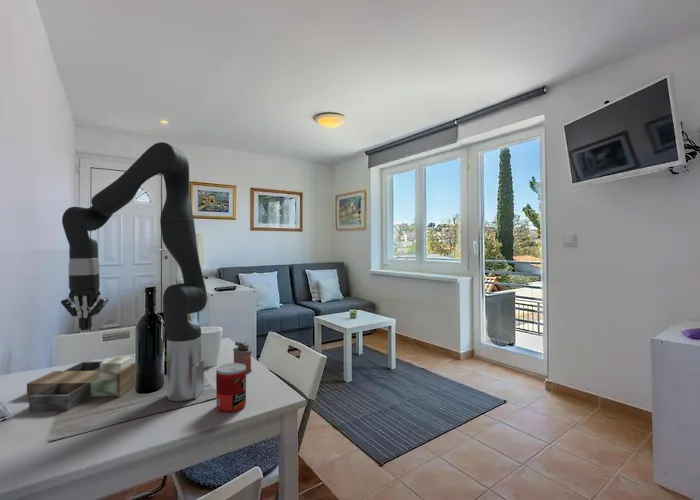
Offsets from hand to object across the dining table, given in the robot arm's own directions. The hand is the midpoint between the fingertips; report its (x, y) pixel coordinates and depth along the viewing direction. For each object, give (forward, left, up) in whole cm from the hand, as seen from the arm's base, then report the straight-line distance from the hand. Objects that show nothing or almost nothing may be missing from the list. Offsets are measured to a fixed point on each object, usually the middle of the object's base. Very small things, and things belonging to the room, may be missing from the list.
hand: (85, 329), depth 109 cm
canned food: (-48, +13, -19) cm, 53 cm away
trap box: (0, 0, -19) cm, 19 cm away
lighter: (-44, -15, -19) cm, 50 cm away
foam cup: (-30, -22, -19) cm, 41 cm away
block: (-9, 0, -15) cm, 17 cm away
